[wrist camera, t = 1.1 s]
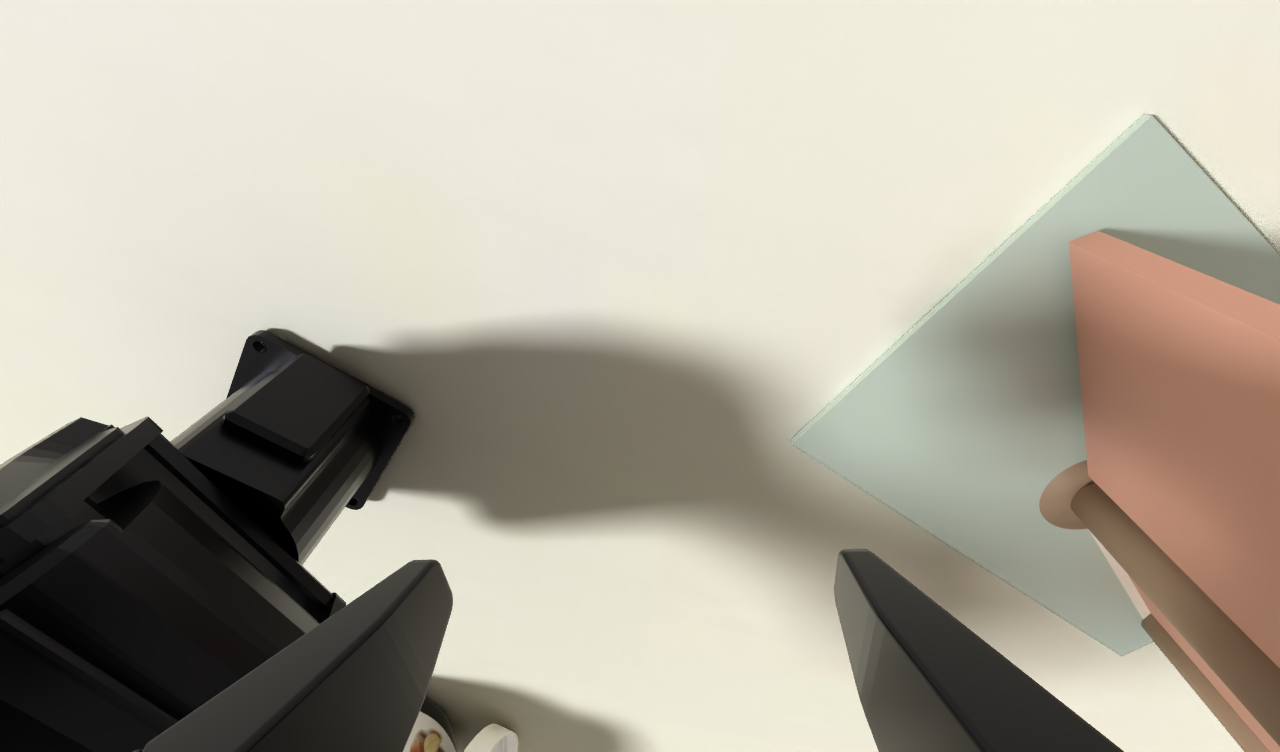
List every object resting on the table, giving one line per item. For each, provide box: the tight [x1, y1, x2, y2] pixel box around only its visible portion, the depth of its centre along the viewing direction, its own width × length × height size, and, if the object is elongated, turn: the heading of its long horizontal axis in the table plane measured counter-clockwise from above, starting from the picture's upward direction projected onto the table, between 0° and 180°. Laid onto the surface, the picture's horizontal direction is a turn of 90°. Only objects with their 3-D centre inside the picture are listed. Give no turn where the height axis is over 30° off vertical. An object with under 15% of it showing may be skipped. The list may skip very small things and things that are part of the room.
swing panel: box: [1069, 231, 1280, 746], centre depth 15 cm, size 13×2×9 cm, turn 25°
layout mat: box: [791, 114, 1280, 656], centre depth 21 cm, size 14×22×1 cm, turn 55°
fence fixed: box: [1039, 460, 1280, 752], centre depth 19 cm, size 6×13×10 cm, turn 55°
